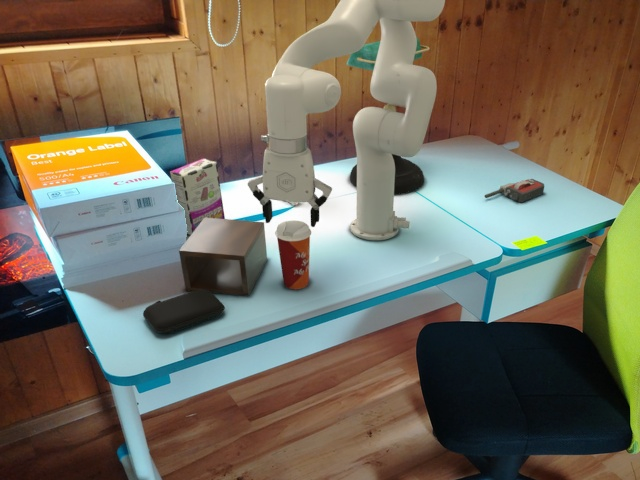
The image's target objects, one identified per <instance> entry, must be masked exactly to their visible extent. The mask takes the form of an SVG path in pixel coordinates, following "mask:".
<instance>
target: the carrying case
mask: <svg viewBox="0 0 640 480" xmlns="http://www.w3.org/2000/svg"><path fill="white" fill-rule="evenodd" d="M225 307H226V306H225V305H224V304H223V303H222V302H221V301H220V299H218V297H217V296H216V295H214V293H211V292H210V291H208V290H206V289H199V290H196V291H188V292H186V293H183V294H179V295H177V296H174V297H171V298H167V299H165V300H162V301H161V300H158V301H155V302H154V303H152V304H150V305H148V306H147V307H145V309H144V310H143V312H142V316H143V318H144V319H145V321H146V322H147V323H148V324H149V326H150V327H151V328H152V329H153V330H154V332H155V333H157V334H160V335H162V336H163V335H170V334H172V333H176V332H178V331H181V330H185V329H187V328H190V327H193V326H195V325H198V324H201V323H205V322H207V321H210V320H212V319H215V318H217V317H219V316H221V315H222V314H223V312H225V309H226V308H225Z"/></svg>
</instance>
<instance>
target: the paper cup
mask: <svg viewBox="0 0 640 480" xmlns="http://www.w3.org/2000/svg"><path fill="white" fill-rule="evenodd" d="M274 235H275V236H276V238H277V246H278V255H279V260H280V268H281V274H282V282H283V284H284V286H285V288H287V289H290V290H301V289H304V288H306V287H307V286H308V285H309V280H310V251H311V250H310V248H311V247H310V246H311V245H310V244H311V243H310V242H311V235H312V230H311V228H310V226H309V225H308V224H307V222H304V221H301V220H286V221H283V222H280V223H279V224H278V225H277V227H276V230H275V232H274Z"/></svg>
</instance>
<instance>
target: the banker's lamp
mask: <svg viewBox="0 0 640 480" xmlns="http://www.w3.org/2000/svg"><path fill="white" fill-rule="evenodd" d="M416 38H417V47H416V52H415V56H414V61H416V60H418V59H422V58H423V53H425V52H429V51H430V47H429V46H427V45H423V44H421V42H420V38H418V36H416ZM380 41H381V40H378V41H374V42H369V43H365V44H364V46H363V47H362V48H361V49H360V50H359V51H357V52H355V53H352V54H349V57H348V59H347V62H346V66H349V67H354V68H357V69H363V70H367V71H373V70H374V66H375V62H376V58H377V54H378V50H379V46H380ZM383 109H387V110H391V111H395V112H397V108H396V106H395V105H391V104H387V103H385V105H384V106H383ZM392 156H393V159H394V163H395V182H394V196H397V195H405V194H409V193H412V192H415V191H417V190H420V188H422V187H423V186H424V184H425V175H424V171H423V170H422V168H421V167H420V166H418V165H417V163H414V162H412V161H411V160H409V159H407V158H405V157H402V156H398V155H394V154H392ZM349 181H350V183H351V185H353V186H354V187H356V188H357V163H356V164H355V165H354V166H353V167H352V169H351V170H350V173H349Z"/></svg>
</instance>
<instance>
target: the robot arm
mask: <svg viewBox="0 0 640 480" xmlns="http://www.w3.org/2000/svg"><path fill="white" fill-rule="evenodd" d="M445 4H446V0H339V2H338V4H337V5H336V7H335V8H334V9H333V11H332V13H331V15H330V16H329V18H328V19H327V20H326V21H324V22H323V23H320V24H319V25H317V26H314V27H312V29H310V30H308V31H306V32H305V33H303V34H302V35H300V36H299V37H298V38H296V39H294V41H292V43H291V44H289V45H288V47H287V48H286V49H285V51H284V52H283V54H282V56H281V57H280V58H279V60H278V62H277V63H276V66H275V67H274V69H273V71H272V74H271V76H270V77H269V78H267V80H266V81H265V83H264V94H265V110H266V126H267V134H261V136H260V141H261V142H262V143H265V144H267V147H266V148H265V149H264V152H263V160H262V174H261V175H259V176H257V177H253V178H252V179H250V180H249V181H248V182H247V186H248V189H249V190H250V192H252V196H253V197H254V198H255V199H256V200H257V201H258V202H259V204H260V205H261V207H262V217H263V218H265V223H266V224H270V222H271V221H272V219H273V215H274V214H273V202H272V200H273V201H280V202H281V201H282V202H287V201H292V202H299V203H308V204H309V206H311V208H310V212H309V213H310V227H312V228H315V227H316V224H317V223H319V222H320V208H321V207H322V205H324V204H325V203H326V202H327V200H328V198H329V197H330V195H331V193H332V191H333V187H332V186H329V184H326V182H325V183H324V182H323V181H321V180H320V179H317V178H316V176H315V167H314V161H313V155H312V151H311V148H309V147H308V134H307V133H308V131H307V129H308V128H307V127H308V125H307V115H309V114H321V113H326V112H330V111H331V110H332V109H334V108H335V107H336V106H337V105H338V103H339V101H340V99H341V96H342V88H341V84H340V82H339V80H338V79H337V78H336V77H335V76H334V75H332V74H331V73H328V72H326V71H322V70H317V69H313V67H315V66H316V65H318V64H320V63H322V62H324V61H327V60H331V59H336V58H340V57H341V58H342V57H345V56H350V55H351V54H352V53H355V52H357V51H359V50H360V49H361V48H362V47H363V46H364V45H365V44H366V42H367V41H368V39H369V37H370V35H371V34H372V32H373V31H374V29H375V27H376V26H377V24H378V23H379V26H380V40H379V41H380V46H379V50H378V54H377V58H376V62H375V66H374V70H372V74H371V78H370V84H369V91H370V94H371V97H373V99H375V100H376V101H378V102H379V103H383V104H384V103H385V104H391V105H394V106H395V107H399V108H400V107H401V108H403V109H404V108H405V112H404V113H403V112H398V111H396V112H395V111H391V110H387V109H384V107H383V108H382V107H377V106H365V107H363V108H361V109H360V110H358V112H357V113H356V114H355V116H354V118H353V122H352V134H353V140H354V141H353V142H354V144H355V152H356V153H355V154H356V164H357V187H356V218H355V219H354V220H353V221H351V223H350V232H351V234H353V235H354V236H356V237H357V238H360V239H363V240H366V241H367V240H368V241H384V240H388V239H391V238H393V237H395V236H396V235H397V234H398V233H399V228H400V229H408V230H409V229H410V225H411V221H410V220H407V218H406V217H399V216H397V215H396V210H394V201H395V195H394V182H395V163H394V159H393V156H392V154H394V155H398V156H401V157H402V158H413V157H415V156H417V154H418V153H419V152H420V151H421V149H422V147H423V144H424V141H425V139H426V134H427V131H428V127H429V124H430V120H431V116H432V112H433V109H434V105H435V102H436V97H437V91H438V86H437V85H438V84H437V83H438V82H437V77H436V75H435V73H434V72H433V71H432V70H431V69H429V68H427V67H425V66H421V65H416V64H414V61H415V60H414V56H415V52H416V47H417V38H418V37H417V34H416V31H415V29H414V27H413V24H412V22H415V23H416V22H417V23H418V22H432V21H435V20H436V19H437V18H438V17H439V16H440V15H441V14H442V12H443V10H444V7H445ZM416 37H417V38H416ZM261 184H262V190H261V189H260V188H259V186H258V185H261ZM316 189H317V190H320V192H322V195H320V197H318V196H317V195H316V194H315V193H316Z"/></svg>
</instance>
